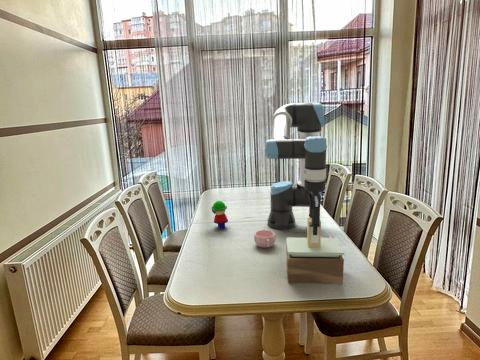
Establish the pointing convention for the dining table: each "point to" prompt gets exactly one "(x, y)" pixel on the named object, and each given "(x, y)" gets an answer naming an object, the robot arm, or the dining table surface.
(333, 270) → the box
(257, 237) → the mug
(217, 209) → the toy
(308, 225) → the lid
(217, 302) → the dining table surface
